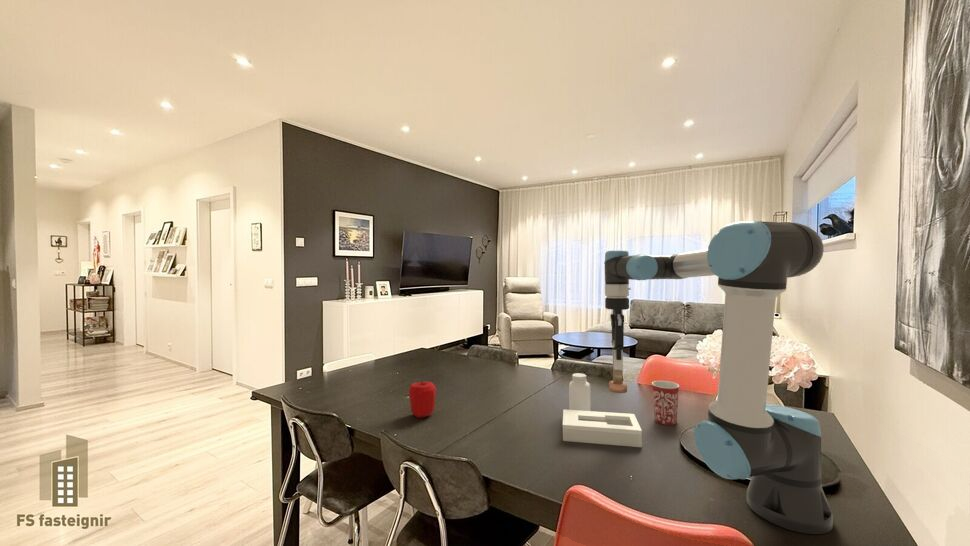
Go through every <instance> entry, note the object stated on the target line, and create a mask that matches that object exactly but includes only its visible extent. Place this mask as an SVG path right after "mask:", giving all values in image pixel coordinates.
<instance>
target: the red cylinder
mask: <svg viewBox="0 0 970 546" xmlns="http://www.w3.org/2000/svg"><path fill="white" fill-rule="evenodd" d="M436 387H437V386H435V385H434V383H433V382H432V381H426V380H425V381H418V382H413V383H411V385H410V386H409V388H408V397H409V403H410V412H411V413H412V414H413V415H414V417H416V418H418V419H419V418H422V419H424V418H425V417H429V416H430V415H431V414H432V413H433V412H434V410H435V404H436V396H437V389H436Z"/></svg>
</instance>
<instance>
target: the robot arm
mask: <svg viewBox="0 0 970 546" xmlns="http://www.w3.org/2000/svg"><path fill="white" fill-rule="evenodd" d="M824 250H825V249H824V243H823V240H822V238H821V236H820V235H819V233H817V231H815V230H814V229H813V228H811V227H809V226H807V225H806V224H802V223H799V222H789V221H787V222H785V221H784V222H781V221H780V222H779V221H763V220H762V221H759V220H748V221H736V222H735V221H734V222H731V223H729V224H726V225H724V226H723V227H722V228H720V229H719V231H718V232H716V233H715V234H714V235H713V237H712V238H711V240H710V241H709V243H708V246H707V248H703V249H699V250H692V251H687V252H680V253H675V254H668V255H666V254H664V255H658V254H635V255H634V254H633V255H630V254H629V251H628V250H624V249H623V250H622V249H621V250H619V249H617V250H616V249H615V250H607V251H606V252H605V253H604V263H603V264H604V296H605V298H604V299H605V300H604V301H605V302H604V307H605V309H606V310H612V313H611V314H610V316H609V317H610V321H611V322H610V325H611V326H610V327H611V344H612V346H613V340H614V348H613V347H611V351H613V350H614V369H615V370H624V353H623V351H624V349H625V346H624V341H625V340H624V339H625V338H624V335H625V333H624V331H625V330H624V327H625V315H624V314H623V310H624V311H625V310H628V309H629V308H630V298H629V296H630V291H631V290H632V288H631V287H630V286H629V285H630V282H629V281H631V280H633V281H647V280H649V281H650V280H683V279H688V278H698V277H699V278H700V277H709V276H710V277H712V276H716V277H717V285H718V287H719V288H720V290H722V291H723V292H724V294H725V295H724V307H723V309H724V310H723V323H722V333H721V348H720V349H721V350H720V359H719V360H720V361H719V372H718V373H719V374H718V386H717V387H718V388H717V397H716V398H717V399H715V400H714V401H712V402H711V403H709V404H708V413H707V419H705V420H701V421H700V422H699V423H698V424H696V426H695V427H694V431H693V432H694V433H693V437H694V443H695V447H696V449H697V452H698V453H699V455H700V456H701V458H702V460H703V462H704V463H705V464H706V465H707V467H708V468H709V469H710V470H711V471H712V472H714V473H715V474H716V475H718V476H720V477H721V478H723V479H727V480H739V479H740V480H747V479H749V478H751V479H750V481H749V484H748V487H747V488H746V503H747V505H748V507H749V508H750V510H752V511H753V512H754V513H755V514H756V515H757V516H759V517H760V518H762V519H764V520H765V521H768V522H769V523H771V524H774V525H776V526H778V527H780V528H784V529H785V530H789V531H793V532H797V533H800V534H806V535H809V534H810V535H823V534H827V533H829V532H831V531H832V530H833V528H834V526H833V525H834V522H833V521H834V517H833V513H832V510H831V508H830V504H829V503H828V499H827V497H826V494H825V492H824V490H823V487H822V438H823V435H822V431H821V423H820V421H819V420H818V419H817V418H816V416H814V415H812V414H809V413H807V412H804V411H801V410H798V409H795V408H791V407H789V406H788V407H787V406H784V405H778V404H774V403H773V404H772V403H767V399H768V397H767V396H768V385H769V377H770V376H769V375H770V364H771V354H772V352H771V351H772V345H773V344H772V342H773V341H772V340H773V332H774V330H773V329H774V321H775V320H774V319H775V309H776V308H775V307H776V299H777V297H778V296H780V295H781V294H782V293H784V292H785V291H787V285H788V284H787V283H788V279H789V278H795V277H800V276H803V275H806V274H808V273H809V272H811V271H812V270H814V269H815V268H816V267H817V266H818V265H819V264H820V263H821V260H822V258H823V255H824Z"/></svg>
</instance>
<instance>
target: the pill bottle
mask: <svg viewBox="0 0 970 546" xmlns="http://www.w3.org/2000/svg"><path fill="white" fill-rule="evenodd" d="M568 393H569V394H568V404H569V405H568V406H569V409H568V410H580V411H592V410H591V384H590V382H588V381H587V375H586V374H585V373H579V372H576V373H573V374H572V375H571V381H570V382H569V384H568Z"/></svg>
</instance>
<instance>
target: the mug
mask: <svg viewBox="0 0 970 546" xmlns="http://www.w3.org/2000/svg"><path fill="white" fill-rule="evenodd" d="M651 386H652V395H653V397H652V398H653V410H654V411H653V412H654V421H656V422H657V423H658V424H661V425H664V426H665V425H667V426H674V425H676V424H677V422H678V406H679V392H680V391H679V389H680V384H678V383H677V382H673V381H668V380H654V381H651Z"/></svg>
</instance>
